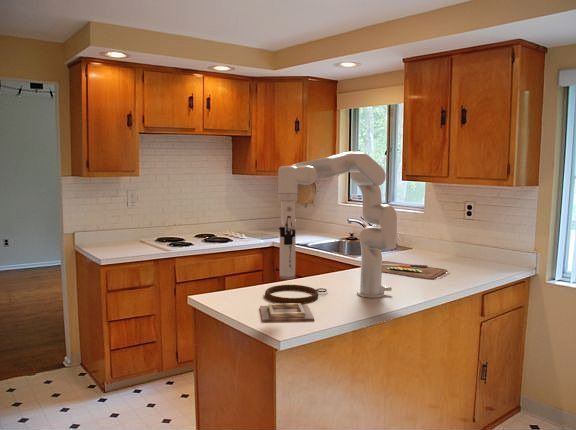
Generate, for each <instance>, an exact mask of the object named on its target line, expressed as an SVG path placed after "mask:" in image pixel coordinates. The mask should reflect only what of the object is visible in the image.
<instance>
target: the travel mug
mask: <svg viewBox="0 0 576 430" xmlns="http://www.w3.org/2000/svg"><path fill="white" fill-rule="evenodd" d="M278 230H279V278H280V279H281V280H293V279H295V278H296V248H297V247H296V241H297V238H296V237H297V235H296V234H297V233H296V229H294V228H292V235H293V236H292V245H285V244H284V234H285V228H283V226H280V227H278Z"/></svg>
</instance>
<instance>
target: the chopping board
mask: <svg viewBox="0 0 576 430" xmlns="http://www.w3.org/2000/svg"><path fill="white" fill-rule="evenodd" d="M383 273H384V274H390V275H396V276H403V277H410V278H415V279H422V280H435V279H439V280H441V279H443V278H444V277H446V276H448V275H450V274H451V272H448V269H445V268H439V267H432V266H428V265H427V264H425V265H424V264H423V265H422V264H410V263H403V262H395V261H390V260H389V261H388V260H382V274H383Z"/></svg>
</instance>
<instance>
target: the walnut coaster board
mask: <svg viewBox="0 0 576 430" xmlns="http://www.w3.org/2000/svg"><path fill="white" fill-rule="evenodd" d="M259 311H260V314H261V315H260V317H261V320H262V323H279V322H280V323H283V322H284V323H286V322H315V317H314V315H313V313H312V311H311V308H310V306H309V305H308V304H301V303H284V304H283V303H268V304H267V305H259Z"/></svg>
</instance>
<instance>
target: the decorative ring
mask: <svg viewBox="0 0 576 430" xmlns="http://www.w3.org/2000/svg"><path fill="white" fill-rule="evenodd" d="M281 291H296V292H297V291H298V292H305V291H306V292H305V293H309V294H311V293H312V294H311V295H310V296H305V297H283V296H282V297H281V296H277V295H272V293H275V292H281ZM327 291H328V289H327V288H321V287H320V288H313V287H310V286H306V285H301V284H300V285H299V284H281V285H275V286H274V285H273V286H271V287H268V288H267V289H265V291H264V297H265V298H266V299H267V300H268V301H270V302H273V303H276V304H284V303H301V305H304V304H308V303H311V302H312V301H313V302H315V301H317V300H318V298H319V296H321V294H319V293H323V296H325V295H328V292H327ZM325 292H326V293H325ZM313 294H314V295H313Z"/></svg>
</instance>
